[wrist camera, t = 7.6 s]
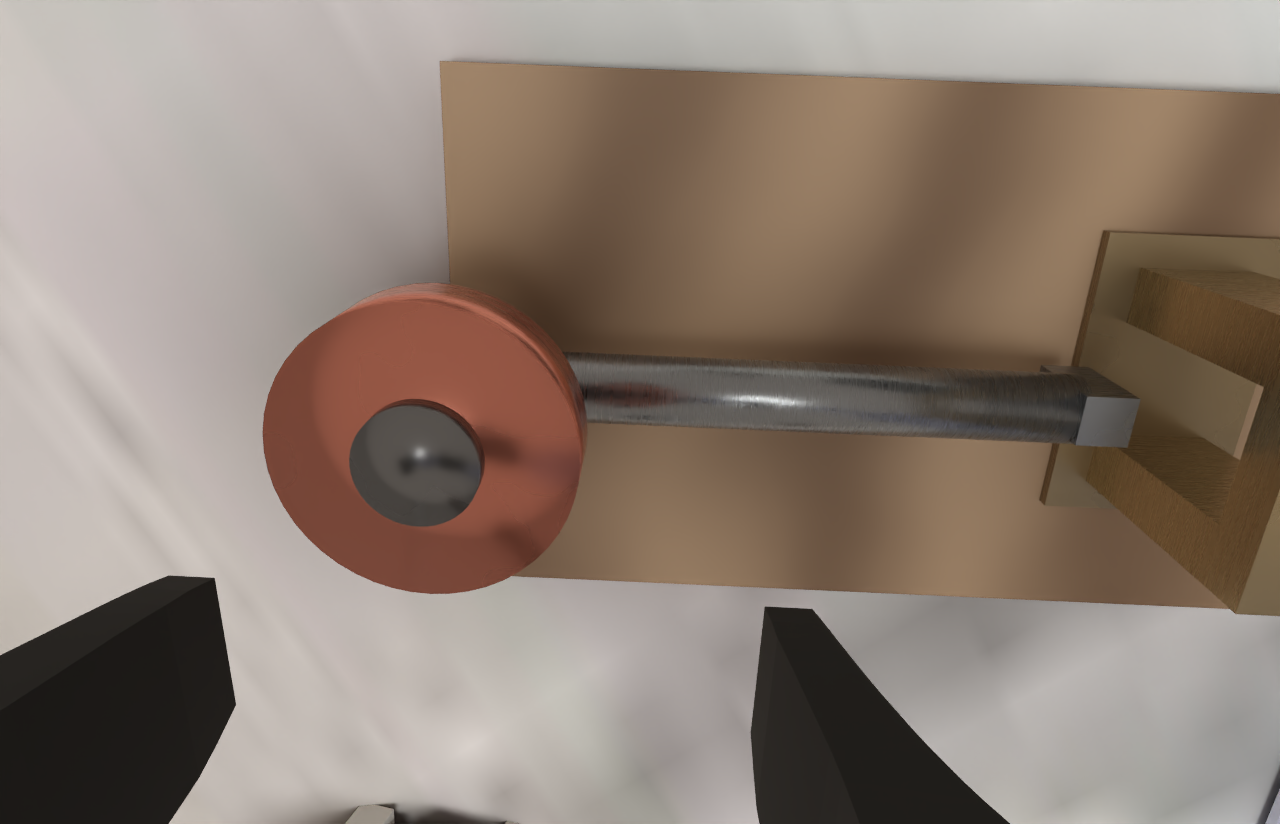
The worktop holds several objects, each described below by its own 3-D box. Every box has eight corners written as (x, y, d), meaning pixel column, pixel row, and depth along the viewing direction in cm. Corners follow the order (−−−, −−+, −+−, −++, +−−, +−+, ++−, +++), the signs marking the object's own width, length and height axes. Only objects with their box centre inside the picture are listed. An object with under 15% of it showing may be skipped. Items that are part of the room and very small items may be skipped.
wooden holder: (1292, 238, 17) (1569, 297, 12) (1206, 507, 19) (1407, 656, 14) (1103, 230, 17) (1296, 285, 12) (1039, 500, 19) (1177, 645, 14)
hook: (1111, 272, 16) (1310, 347, 11) (1056, 493, 18) (1209, 643, 13) (360, 241, 17) (229, 301, 12) (379, 464, 18) (272, 600, 13)
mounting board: (1405, 100, 17) (1439, 100, 16) (1233, 592, 21) (1254, 609, 20) (449, 63, 17) (439, 60, 16) (470, 557, 21) (463, 574, 21)
